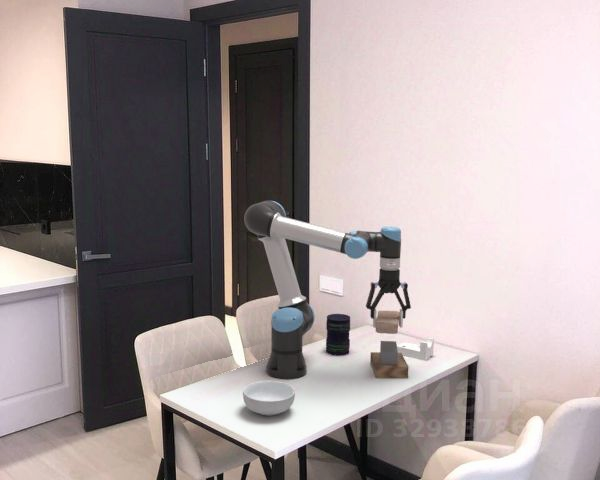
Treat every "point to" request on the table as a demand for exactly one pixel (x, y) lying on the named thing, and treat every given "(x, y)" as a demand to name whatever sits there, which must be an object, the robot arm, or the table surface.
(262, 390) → the cereal bowl
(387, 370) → the tower base
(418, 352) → the bracket
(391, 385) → the table surface
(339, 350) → the dark blue barrel
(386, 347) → the tower top
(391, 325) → the brick
